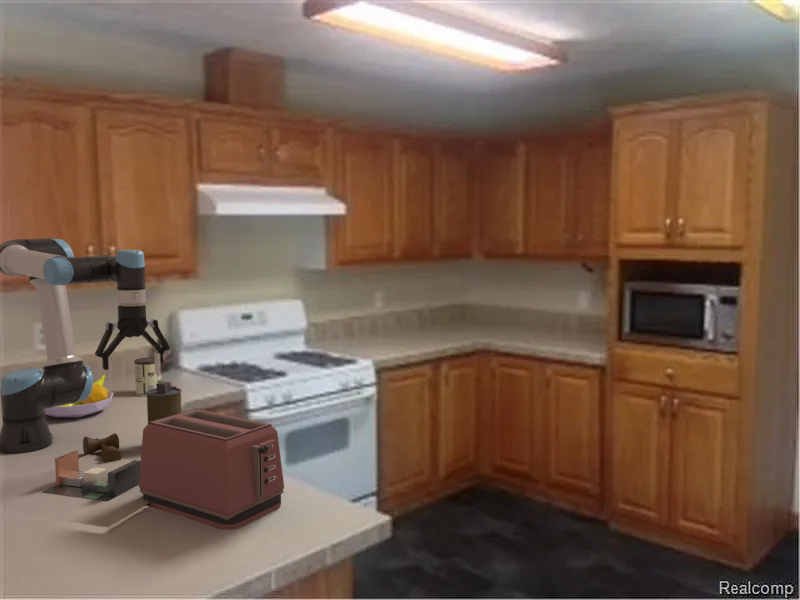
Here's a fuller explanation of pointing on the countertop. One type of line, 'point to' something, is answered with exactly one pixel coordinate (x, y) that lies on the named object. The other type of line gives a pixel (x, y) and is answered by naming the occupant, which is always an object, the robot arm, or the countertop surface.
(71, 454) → the two-tone wooden block
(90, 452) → the kendama
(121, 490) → the grey slider puzzle board
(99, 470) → the cream cube block
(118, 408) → the countertop surface
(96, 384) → the fruit bowl
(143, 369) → the coffee can
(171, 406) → the canister
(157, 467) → the toaster
